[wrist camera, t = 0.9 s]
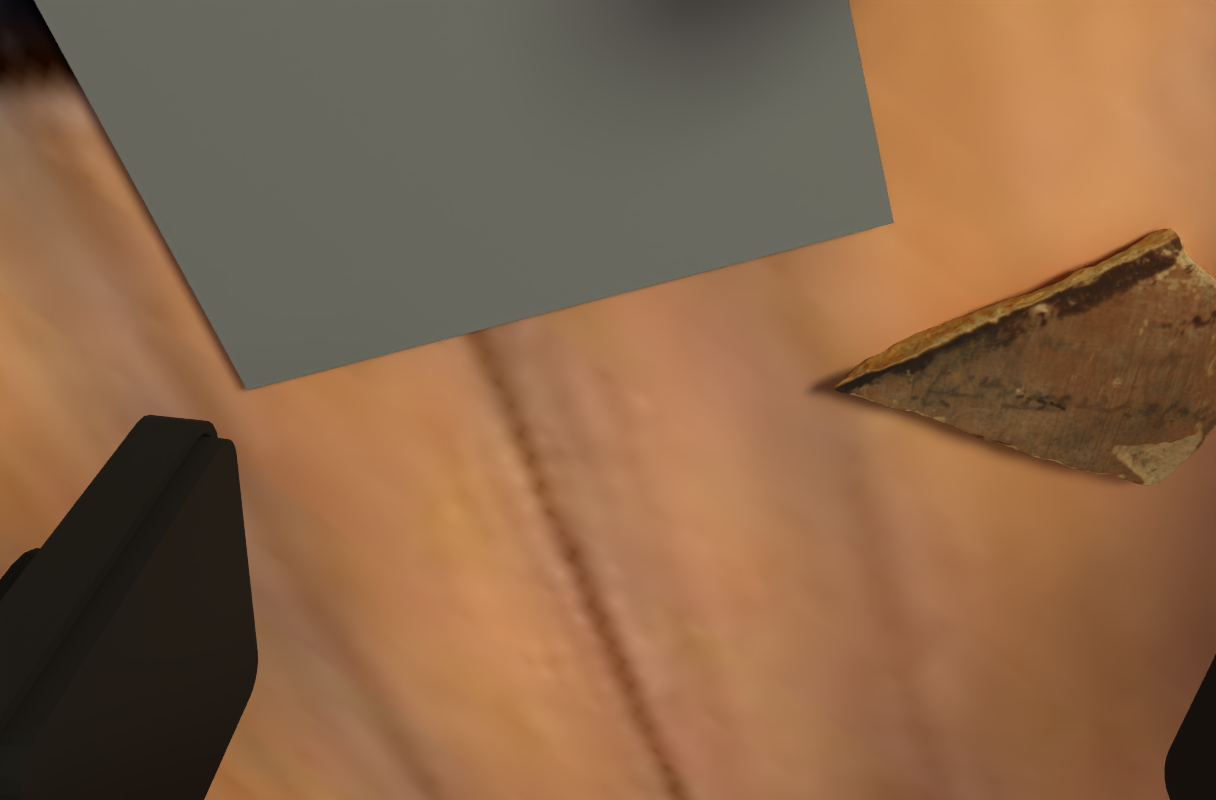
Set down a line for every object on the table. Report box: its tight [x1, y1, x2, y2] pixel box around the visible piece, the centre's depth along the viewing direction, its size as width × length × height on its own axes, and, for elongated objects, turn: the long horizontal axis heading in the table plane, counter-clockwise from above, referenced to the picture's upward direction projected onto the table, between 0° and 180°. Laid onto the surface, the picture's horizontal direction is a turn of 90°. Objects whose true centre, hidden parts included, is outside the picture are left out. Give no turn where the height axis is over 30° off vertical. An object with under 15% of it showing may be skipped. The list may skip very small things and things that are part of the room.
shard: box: [834, 229, 1216, 485], centre depth 33 cm, size 11×8×2 cm
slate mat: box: [34, 0, 894, 390], centre depth 30 cm, size 20×16×1 cm
